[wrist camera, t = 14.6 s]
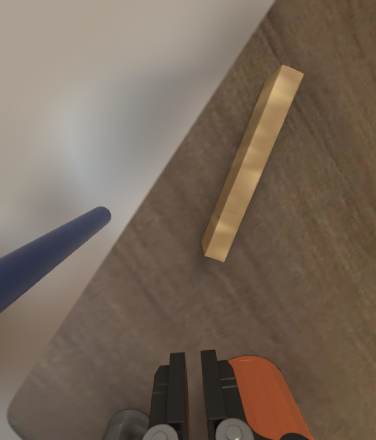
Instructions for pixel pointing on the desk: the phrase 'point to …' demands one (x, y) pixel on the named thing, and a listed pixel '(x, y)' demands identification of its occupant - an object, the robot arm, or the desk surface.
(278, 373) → the utensil cup
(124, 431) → the beverage cup
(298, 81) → the wooden block
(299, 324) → the desk surface
